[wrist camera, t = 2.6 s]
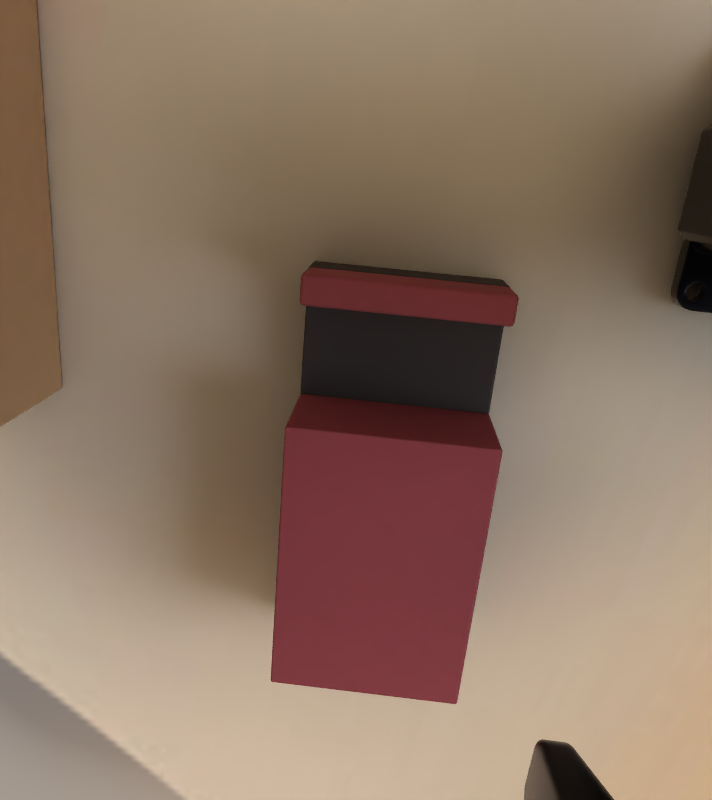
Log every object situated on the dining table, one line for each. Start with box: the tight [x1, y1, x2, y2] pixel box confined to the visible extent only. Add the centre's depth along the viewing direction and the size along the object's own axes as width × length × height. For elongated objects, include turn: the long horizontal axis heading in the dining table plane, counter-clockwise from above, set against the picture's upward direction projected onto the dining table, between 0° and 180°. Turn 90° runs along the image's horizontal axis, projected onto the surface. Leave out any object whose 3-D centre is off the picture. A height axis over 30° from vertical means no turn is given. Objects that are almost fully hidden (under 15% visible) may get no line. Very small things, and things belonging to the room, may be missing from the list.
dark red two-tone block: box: [271, 261, 519, 704], centre depth 18 cm, size 5×12×4 cm, turn 175°
